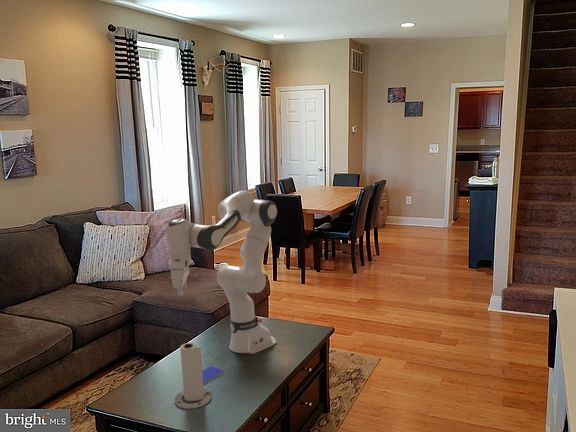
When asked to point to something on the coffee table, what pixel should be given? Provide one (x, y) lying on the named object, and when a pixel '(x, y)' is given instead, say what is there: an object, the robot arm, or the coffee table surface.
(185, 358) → the paper towel roll
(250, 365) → the coffee table surface
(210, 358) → the coffee table surface
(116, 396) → the coffee table surface
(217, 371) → the hard drive
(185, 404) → the duct flange
